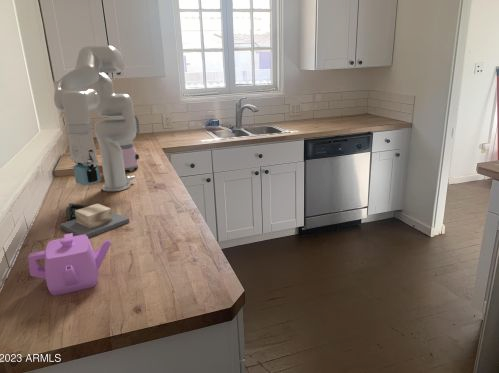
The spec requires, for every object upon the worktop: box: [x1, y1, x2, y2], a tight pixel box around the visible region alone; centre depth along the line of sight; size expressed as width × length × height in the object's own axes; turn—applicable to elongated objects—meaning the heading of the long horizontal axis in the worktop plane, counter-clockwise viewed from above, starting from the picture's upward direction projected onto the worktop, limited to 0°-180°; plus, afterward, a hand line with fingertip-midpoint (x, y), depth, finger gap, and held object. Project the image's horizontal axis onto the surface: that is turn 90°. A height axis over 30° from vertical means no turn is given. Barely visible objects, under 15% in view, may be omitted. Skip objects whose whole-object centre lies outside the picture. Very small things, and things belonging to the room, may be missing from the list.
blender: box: [108, 114, 140, 173], centre depth 208 cm, size 16×12×32 cm
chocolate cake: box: [65, 202, 89, 221], centre depth 150 cm, size 10×7×12 cm
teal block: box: [72, 163, 102, 186], centre depth 137 cm, size 6×6×6 cm
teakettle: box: [27, 232, 112, 297], centre depth 106 cm, size 17×17×12 cm
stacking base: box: [59, 203, 130, 239], centre depth 142 cm, size 18×16×6 cm
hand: (88, 179), depth 138 cm, fingers closed on teal block, 6 cm apart
